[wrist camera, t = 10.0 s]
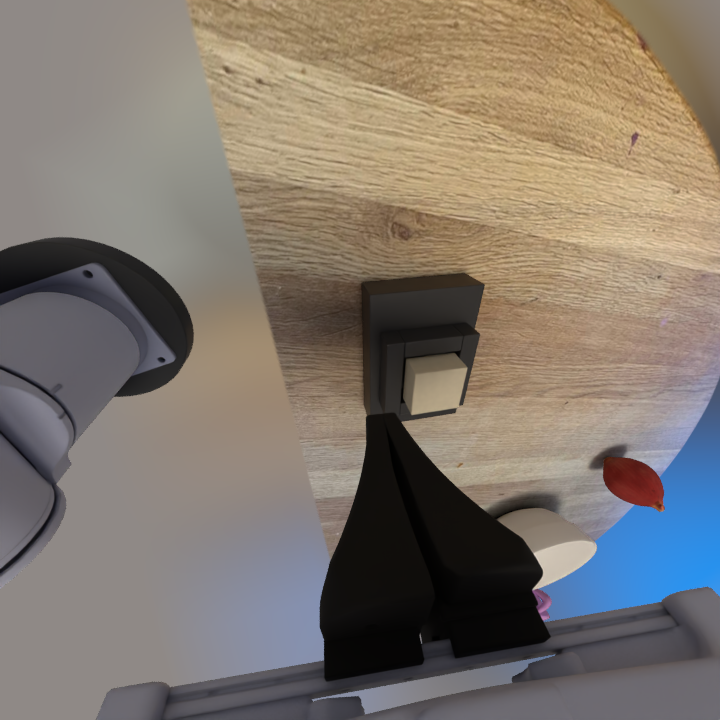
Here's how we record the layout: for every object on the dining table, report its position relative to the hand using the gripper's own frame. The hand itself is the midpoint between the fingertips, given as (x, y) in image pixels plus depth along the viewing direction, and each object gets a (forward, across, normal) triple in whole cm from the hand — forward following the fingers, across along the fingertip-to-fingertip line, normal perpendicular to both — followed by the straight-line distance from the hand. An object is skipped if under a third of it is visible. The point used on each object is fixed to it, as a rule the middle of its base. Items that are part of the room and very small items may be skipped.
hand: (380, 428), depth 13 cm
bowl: (+13, -25, +40) cm, 49 cm away
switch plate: (+11, -4, +2) cm, 12 cm away
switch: (+7, -5, +2) cm, 9 cm away
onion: (+13, -37, +26) cm, 47 cm away
